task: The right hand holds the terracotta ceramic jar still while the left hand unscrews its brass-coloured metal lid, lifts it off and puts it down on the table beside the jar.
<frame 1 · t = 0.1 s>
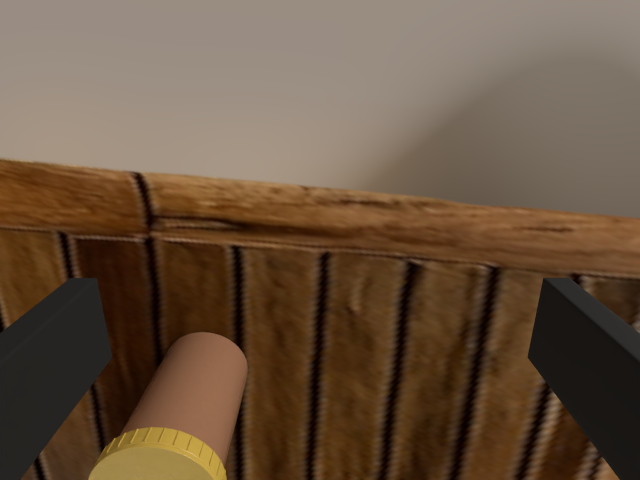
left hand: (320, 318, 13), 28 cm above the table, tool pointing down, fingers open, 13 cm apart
jar: (206, 367, 47), on the table
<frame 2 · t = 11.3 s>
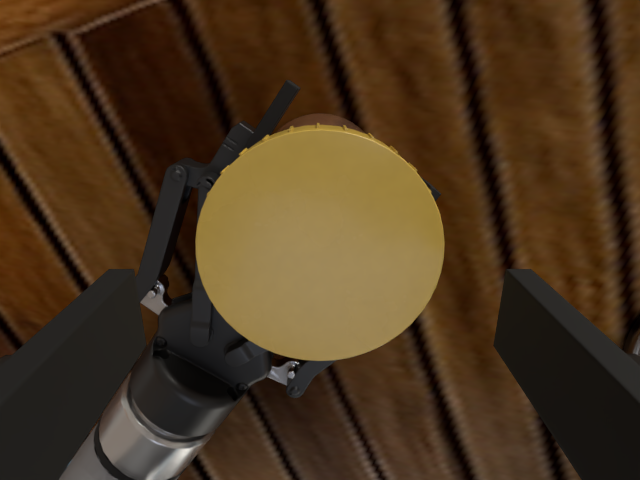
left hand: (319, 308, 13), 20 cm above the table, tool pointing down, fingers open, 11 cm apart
right hand: (364, 136, 25), fingers closed on jar, 9 cm apart
jar: (319, 176, 32), on the table, touching right hand
lid: (319, 253, 18), point 15 cm above the table, screwed on, not yet turned
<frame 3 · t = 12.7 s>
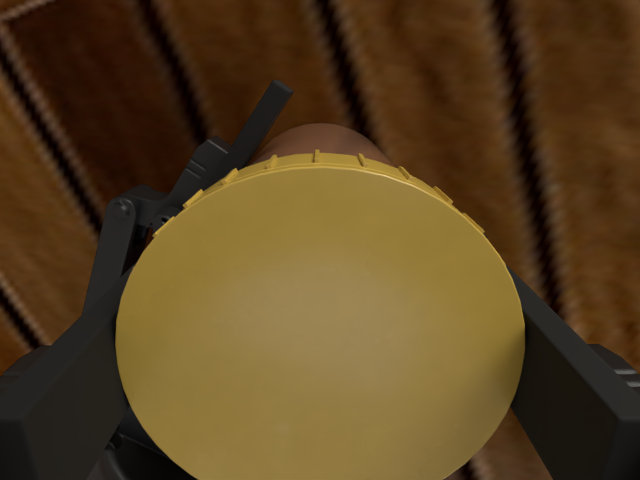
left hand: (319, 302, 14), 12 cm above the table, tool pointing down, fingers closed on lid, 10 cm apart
jar: (320, 202, 25), on the table, touching right hand
lid: (320, 360, 11), point 15 cm above the table, screwed on, not yet turned, touching left hand
when the left hand's fingers open (13 cm above the table, at t = 14.2 s): lid stays where it is, point 16 cm above the table.
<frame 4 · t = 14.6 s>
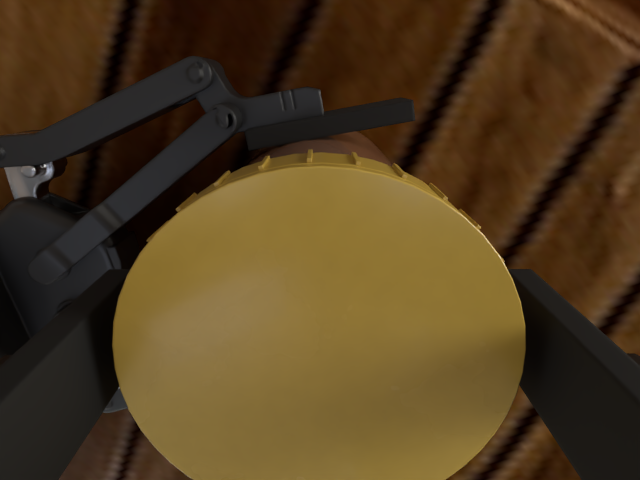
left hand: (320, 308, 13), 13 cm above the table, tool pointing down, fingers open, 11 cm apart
right hand: (418, 221, 19), fingers closed on jar, 9 cm apart
jar: (319, 201, 25), on the table, touching right hand
lid: (319, 361, 11), point 16 cm above the table, turned 82° so far, risen 0.2 cm, still on its thread
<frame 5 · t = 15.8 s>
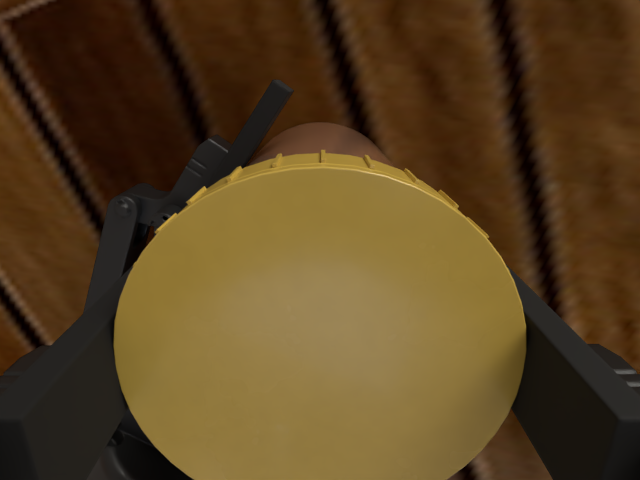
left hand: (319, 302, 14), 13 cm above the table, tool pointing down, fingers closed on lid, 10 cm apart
jar: (320, 201, 25), on the table, touching right hand
lid: (319, 362, 11), point 16 cm above the table, turned 82° so far, risen 0.2 cm, still on its thread, touching left hand
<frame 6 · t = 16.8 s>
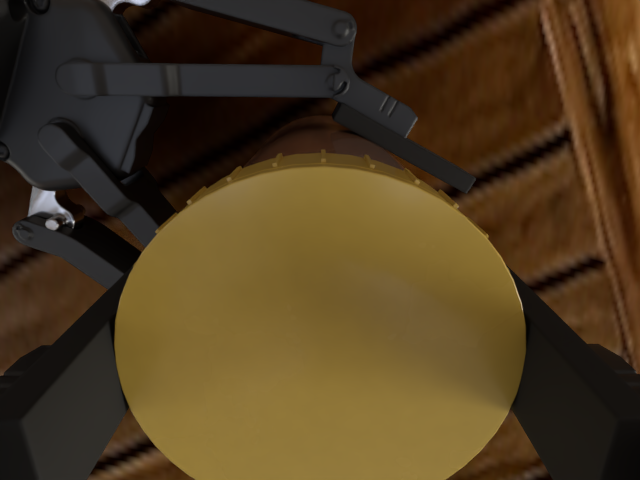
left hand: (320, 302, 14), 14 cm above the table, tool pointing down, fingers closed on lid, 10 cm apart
jar: (323, 191, 26), on the table, touching right hand
lid: (320, 361, 11), point 17 cm above the table, off its thread, touching left hand
when the left hand's fingers open (0 cm above the table, at t = 22.0 s): lid drops 2 cm, point 2 cm above the table.
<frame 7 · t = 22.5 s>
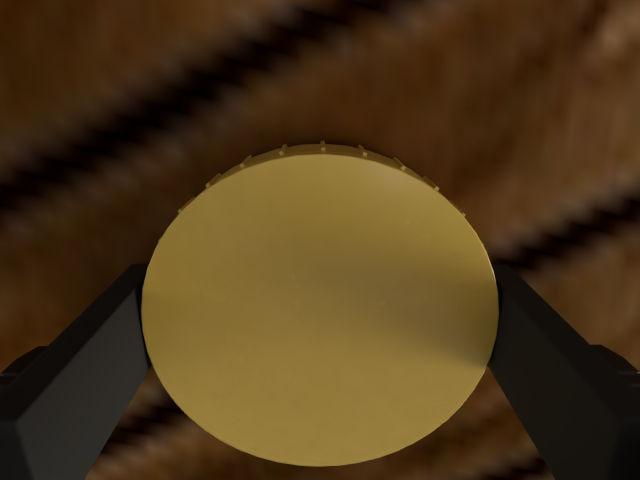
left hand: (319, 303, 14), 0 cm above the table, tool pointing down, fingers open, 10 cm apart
lid: (320, 326, 12), point 2 cm above the table, off its thread
when the right hand's fingers open (7 cm above the table, at t = 23.6 s): jar stays where it is, on the table.
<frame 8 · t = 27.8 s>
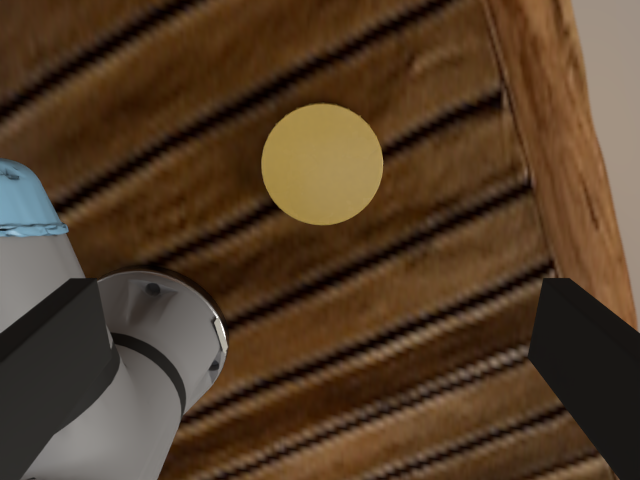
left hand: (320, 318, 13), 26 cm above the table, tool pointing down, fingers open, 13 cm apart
lid: (322, 166, 36), point 2 cm above the table, off its thread
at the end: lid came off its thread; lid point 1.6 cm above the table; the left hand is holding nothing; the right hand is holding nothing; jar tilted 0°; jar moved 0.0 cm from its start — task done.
